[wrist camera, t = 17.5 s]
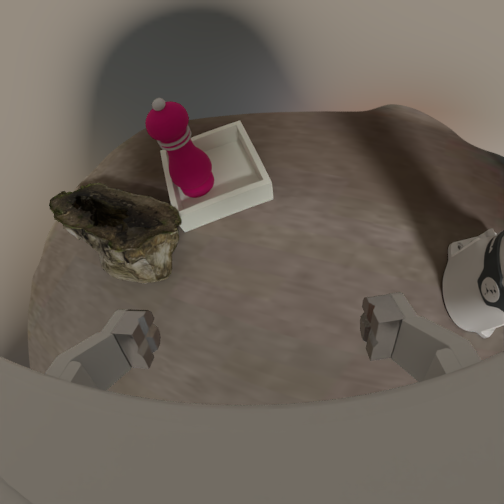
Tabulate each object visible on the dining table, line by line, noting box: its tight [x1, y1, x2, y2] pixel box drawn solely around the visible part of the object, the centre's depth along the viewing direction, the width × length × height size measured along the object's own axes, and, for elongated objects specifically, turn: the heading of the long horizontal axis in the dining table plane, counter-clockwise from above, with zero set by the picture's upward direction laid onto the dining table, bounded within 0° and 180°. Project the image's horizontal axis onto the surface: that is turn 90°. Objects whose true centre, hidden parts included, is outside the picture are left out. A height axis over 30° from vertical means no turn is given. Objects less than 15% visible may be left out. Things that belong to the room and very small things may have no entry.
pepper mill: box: [146, 98, 214, 198], centre depth 38 cm, size 7×7×20 cm
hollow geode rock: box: [49, 183, 182, 284], centre depth 41 cm, size 28×13×15 cm
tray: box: [160, 121, 273, 232], centre depth 46 cm, size 16×16×5 cm
